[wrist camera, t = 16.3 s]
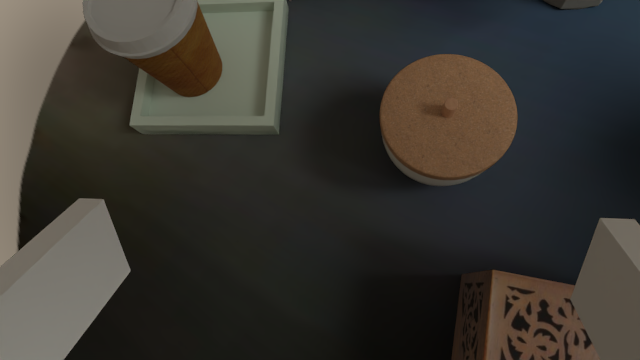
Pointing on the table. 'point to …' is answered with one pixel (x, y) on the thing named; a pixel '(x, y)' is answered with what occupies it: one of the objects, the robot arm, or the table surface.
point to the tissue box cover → (518, 320)
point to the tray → (226, 76)
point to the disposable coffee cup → (159, 40)
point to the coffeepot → (573, 3)
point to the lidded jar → (447, 119)
